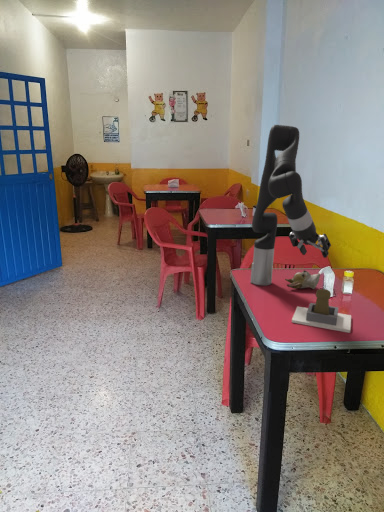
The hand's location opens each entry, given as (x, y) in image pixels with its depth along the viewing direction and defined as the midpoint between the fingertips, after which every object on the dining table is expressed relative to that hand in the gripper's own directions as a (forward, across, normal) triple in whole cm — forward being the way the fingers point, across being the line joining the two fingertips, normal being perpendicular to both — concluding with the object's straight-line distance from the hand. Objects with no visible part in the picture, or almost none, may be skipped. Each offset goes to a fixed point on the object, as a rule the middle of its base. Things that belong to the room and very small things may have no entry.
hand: (315, 254), depth 144 cm
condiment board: (+20, -3, +15) cm, 25 cm away
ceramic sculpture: (+34, +21, -7) cm, 40 cm away
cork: (+18, -3, +15) cm, 24 cm away
